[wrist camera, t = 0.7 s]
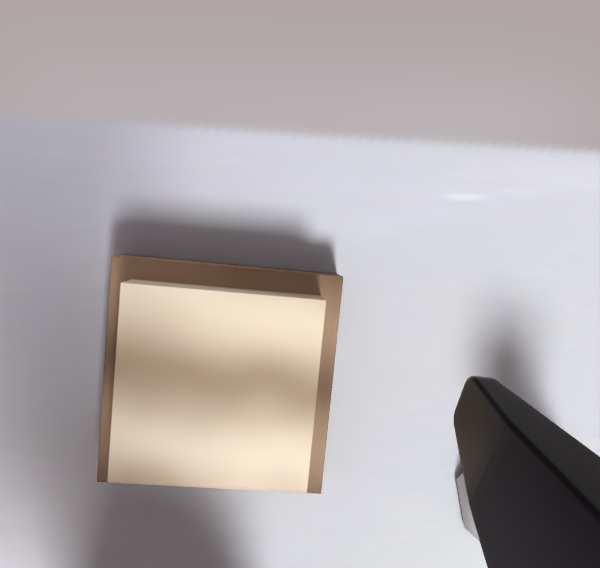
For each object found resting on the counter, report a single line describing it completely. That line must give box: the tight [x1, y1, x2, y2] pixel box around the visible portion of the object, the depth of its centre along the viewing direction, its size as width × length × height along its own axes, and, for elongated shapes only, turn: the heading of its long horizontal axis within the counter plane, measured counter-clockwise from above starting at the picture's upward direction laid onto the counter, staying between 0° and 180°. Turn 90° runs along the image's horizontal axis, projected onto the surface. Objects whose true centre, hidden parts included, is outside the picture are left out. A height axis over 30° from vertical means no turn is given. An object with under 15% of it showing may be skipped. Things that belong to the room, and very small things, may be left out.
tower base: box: [97, 255, 343, 494], centre depth 25 cm, size 11×11×4 cm
